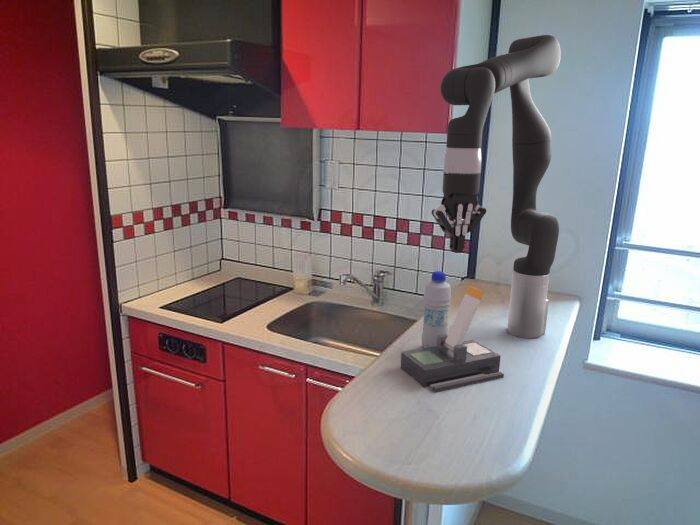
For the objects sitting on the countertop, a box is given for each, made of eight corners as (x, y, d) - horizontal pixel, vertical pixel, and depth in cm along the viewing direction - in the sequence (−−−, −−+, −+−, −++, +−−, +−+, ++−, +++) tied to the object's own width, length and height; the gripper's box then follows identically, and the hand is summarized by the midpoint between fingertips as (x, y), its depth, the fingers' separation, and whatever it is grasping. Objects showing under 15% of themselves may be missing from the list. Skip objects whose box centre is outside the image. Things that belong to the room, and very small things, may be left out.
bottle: (447, 355, 128) (452, 276, 123) (419, 352, 129) (424, 273, 124) (447, 344, 134) (453, 269, 129) (421, 342, 135) (425, 267, 131)
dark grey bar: (497, 373, 118) (497, 370, 118) (503, 377, 117) (503, 374, 116) (429, 388, 111) (430, 384, 111) (435, 392, 109) (435, 388, 109)
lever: (447, 347, 121) (472, 286, 120) (458, 354, 117) (485, 292, 116) (442, 345, 120) (467, 284, 119) (453, 353, 116) (479, 290, 115)
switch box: (471, 355, 128) (474, 327, 126) (499, 371, 119) (501, 342, 118) (400, 368, 120) (402, 339, 118) (424, 387, 111) (426, 356, 109)
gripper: (476, 168, 114) (470, 246, 119) (425, 169, 109) (420, 250, 113) (499, 171, 108) (492, 253, 112) (445, 172, 102) (440, 258, 107)
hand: (456, 252), depth 113 cm, fingers closed
